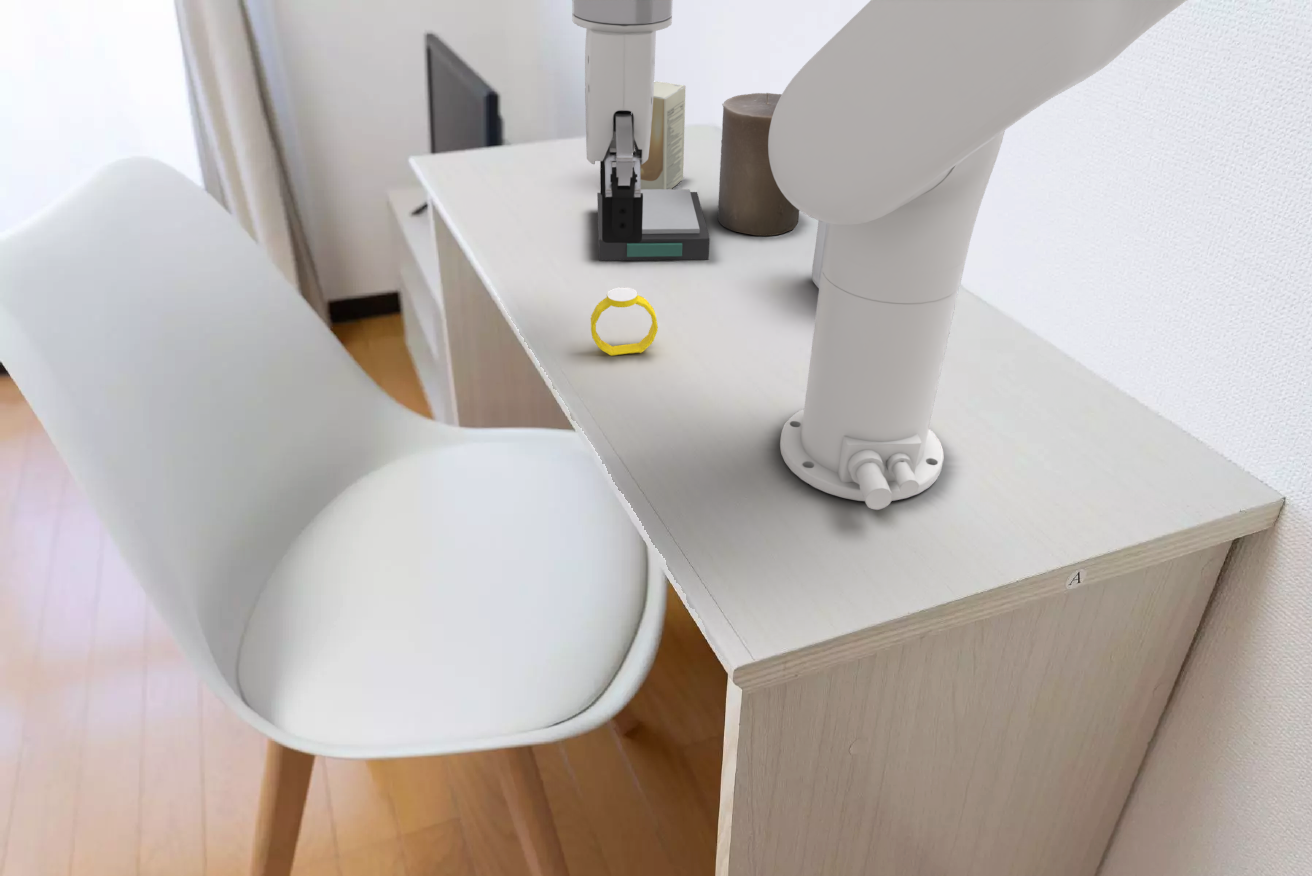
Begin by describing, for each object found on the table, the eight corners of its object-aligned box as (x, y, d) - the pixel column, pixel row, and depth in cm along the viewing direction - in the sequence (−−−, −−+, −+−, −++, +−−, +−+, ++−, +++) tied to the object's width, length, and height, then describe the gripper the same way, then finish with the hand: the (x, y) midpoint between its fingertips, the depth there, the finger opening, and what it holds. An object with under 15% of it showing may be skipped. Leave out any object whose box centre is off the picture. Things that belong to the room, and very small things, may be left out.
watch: (654, 342, 91) (655, 284, 87) (658, 357, 88) (659, 298, 85) (590, 346, 90) (589, 287, 86) (593, 361, 88) (591, 302, 84)
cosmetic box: (654, 174, 128) (656, 79, 121) (684, 180, 126) (687, 84, 119) (632, 190, 123) (632, 92, 116) (663, 196, 122) (665, 97, 115)
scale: (709, 261, 106) (710, 234, 104) (599, 262, 105) (599, 235, 103) (696, 211, 118) (697, 186, 116) (597, 212, 117) (597, 187, 115)
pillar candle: (807, 234, 112) (822, 103, 104) (725, 238, 111) (733, 106, 102) (785, 203, 120) (797, 79, 112) (708, 207, 119) (715, 81, 110)
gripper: (573, -23, 79) (576, 180, 89) (570, 27, 65) (575, 261, 75) (664, -21, 79) (657, 180, 89) (681, 29, 65) (671, 261, 75)
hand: (620, 217), depth 82 cm, fingers open, 9 cm apart
